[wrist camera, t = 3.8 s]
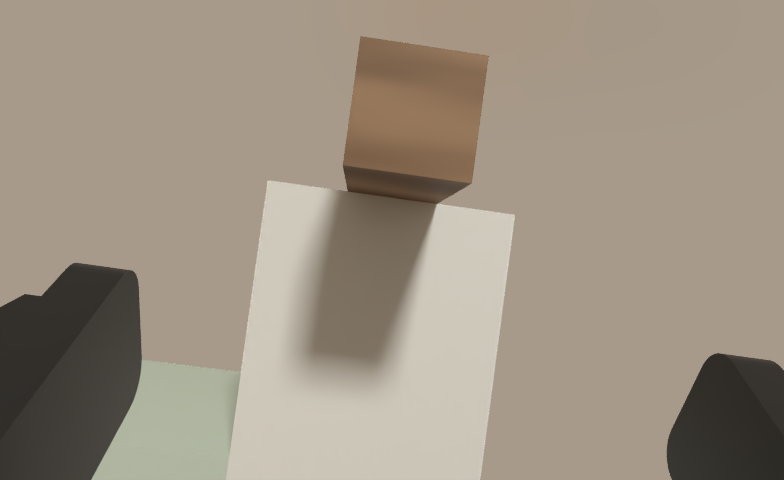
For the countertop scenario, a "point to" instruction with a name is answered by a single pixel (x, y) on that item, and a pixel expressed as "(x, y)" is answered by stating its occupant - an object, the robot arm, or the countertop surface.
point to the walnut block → (413, 120)
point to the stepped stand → (339, 352)
